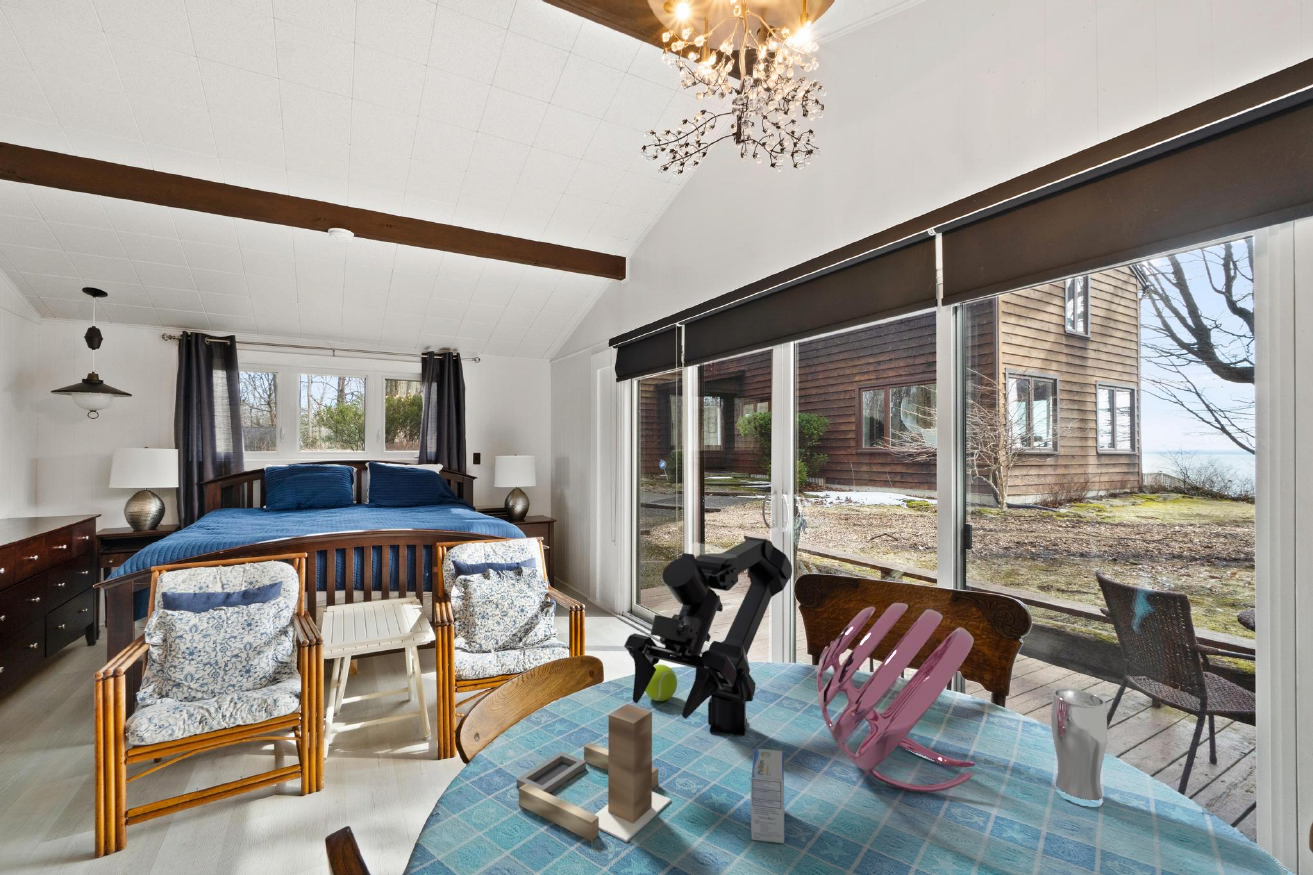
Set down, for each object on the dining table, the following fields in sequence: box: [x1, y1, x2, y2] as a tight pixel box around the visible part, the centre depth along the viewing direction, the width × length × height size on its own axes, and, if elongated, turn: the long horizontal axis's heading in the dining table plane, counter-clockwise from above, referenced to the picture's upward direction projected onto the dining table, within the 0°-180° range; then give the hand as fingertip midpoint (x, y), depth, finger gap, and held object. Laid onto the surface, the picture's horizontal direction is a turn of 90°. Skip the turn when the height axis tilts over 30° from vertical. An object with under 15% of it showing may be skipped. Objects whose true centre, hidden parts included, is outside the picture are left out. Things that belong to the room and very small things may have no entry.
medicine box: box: [750, 748, 785, 845], centre depth 84 cm, size 8×4×9 cm, turn 168°
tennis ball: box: [644, 664, 678, 702], centre depth 124 cm, size 7×7×7 cm
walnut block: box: [607, 703, 653, 824], centre depth 87 cm, size 4×4×14 cm
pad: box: [594, 791, 672, 843], centre depth 86 cm, size 7×11×1 cm, turn 146°
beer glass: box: [1050, 687, 1108, 800], centre depth 91 cm, size 7×7×15 cm
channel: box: [518, 742, 659, 842], centre depth 91 cm, size 14×16×2 cm
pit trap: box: [516, 751, 587, 794], centre depth 95 cm, size 6×10×1 cm, turn 146°
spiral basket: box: [816, 602, 976, 793], centre depth 98 cm, size 28×28×27 cm
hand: (658, 709), depth 92 cm, fingers open, 9 cm apart
